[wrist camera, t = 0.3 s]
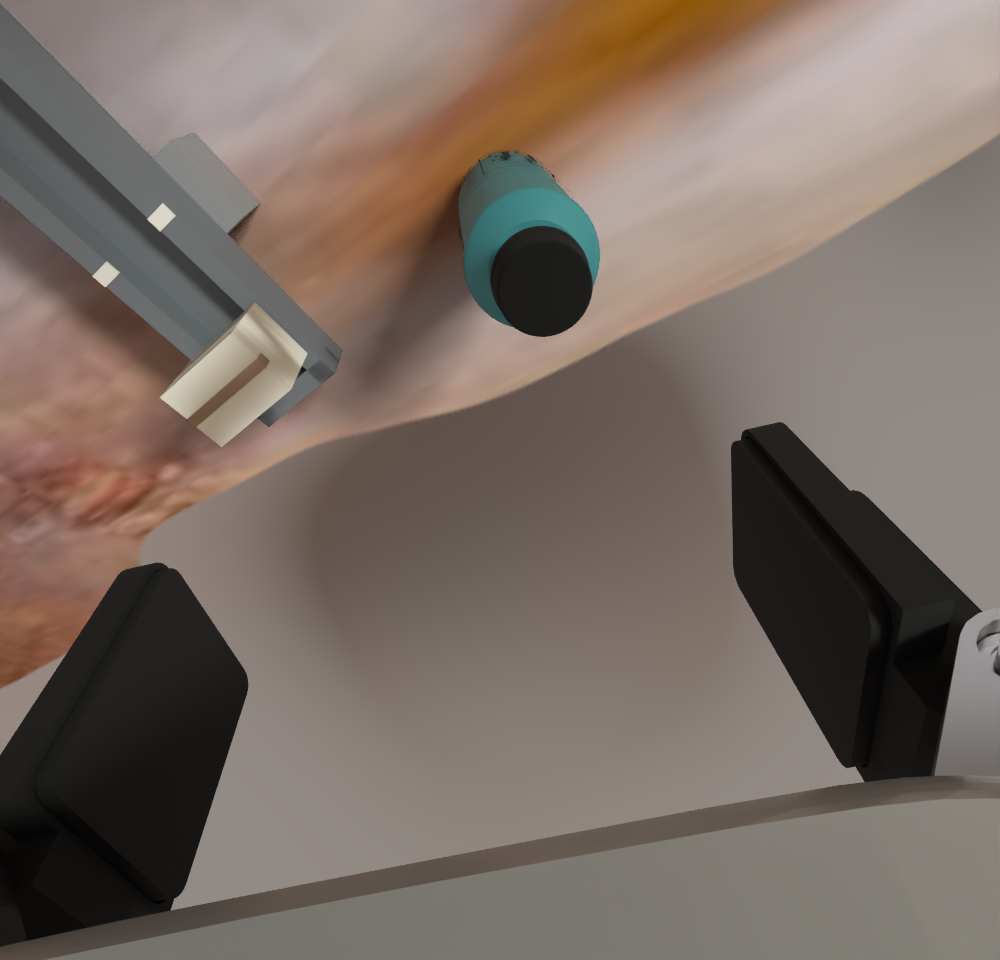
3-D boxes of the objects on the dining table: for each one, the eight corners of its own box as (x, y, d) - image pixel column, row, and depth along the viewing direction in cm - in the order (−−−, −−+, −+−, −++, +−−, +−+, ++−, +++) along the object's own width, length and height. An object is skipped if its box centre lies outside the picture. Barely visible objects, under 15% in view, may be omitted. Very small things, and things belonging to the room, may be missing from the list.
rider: (201, 347, 39) (158, 399, 33) (263, 290, 37) (230, 334, 32) (252, 392, 41) (220, 448, 35) (313, 340, 39) (291, 390, 34)
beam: (-49, 93, 36) (-155, 102, 29) (44, -29, 33) (-51, -49, 27) (277, 389, 47) (251, 441, 41) (365, 316, 45) (352, 359, 38)
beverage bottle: (467, 261, 43) (481, 388, 27) (444, 154, 39) (444, 226, 23) (560, 240, 43) (633, 356, 26) (546, 132, 39) (621, 187, 23)
